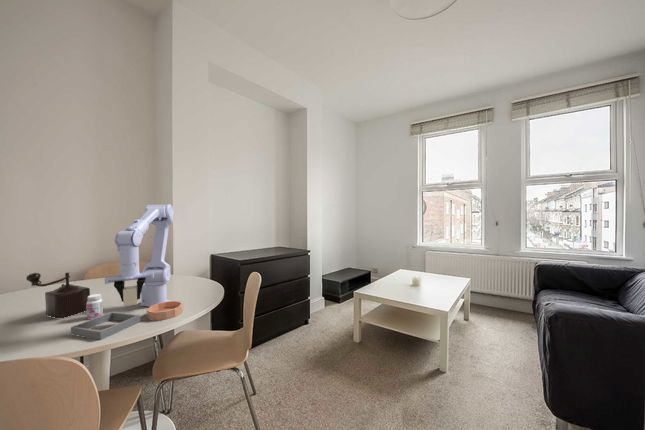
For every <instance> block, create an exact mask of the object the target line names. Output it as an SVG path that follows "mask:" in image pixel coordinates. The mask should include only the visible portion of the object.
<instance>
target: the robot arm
mask: <svg viewBox="0 0 645 430" xmlns="http://www.w3.org/2000/svg"><path fill="white" fill-rule="evenodd" d="M174 214H175V210H174V207H173V206H172V204H170V203H169V204H147V205H146V207H145V208H144V213H143V215H141V217H140V218H139V219H138V218H137V219H134V220H133V222H131V224H129V225H128V226H127V227H126V228H125V229H124V230H121V231H119V232H117V233H116V235H115V238H114V243H115V246H116V248H117V252H118V253H119V269H120V270H119V272H120V274H119V275H118V274H117V275H113V276H106V277H104V284H105V285H108V284H111V283H113V287H114V288H115V290H116V291H117V293H118V294H119V296H120V300H121V303H124V301H123V289H124V288H125V282H128V281H129V282H130V281H136V285H137V299H139V300H140V301H141V303H140V304H139V307H141V306H142V307H148V308H149V307H150V306H153V305H155V304H158V303H162V302H166V301H173V300H172V299H167V298H168V295H167V294H168V293H167V283H168V282H169V281H170V279H171V275H172V273H171V272H172V271H171V265H170V264H169V263H167V262H166V260H165V258H166V252H167V245H168V244H167V243H168V237H169V229H170V225H171V224H173V222H174ZM150 224H151V225H154V226H155V227H156V229H155V234H154V239H153V241H154V242H153V248H152V254H151V261H149V262H148V263H146V264H145V265H144V267H143V270H142V272H140V271H141V270H140V254H139V253H140V249H139V246H140V245H141V243H142V241H143V238H144V234H146V232H147V231H148V230H149V228H150V226H149V225H150Z"/></svg>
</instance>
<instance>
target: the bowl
mask: <svg viewBox="0 0 645 430" xmlns="http://www.w3.org/2000/svg"><path fill="white" fill-rule="evenodd" d="M183 312H184V303H183V302H182V301H179V300H172V301H166V302H162V303H158V304H155V305H153V306H150V307H148V308H147V309H146V318H147V319H148V320H149V321H163V320H165V321H166V320H169V319H172V318H176V317H178V316H179V315H182V313H183Z"/></svg>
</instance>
